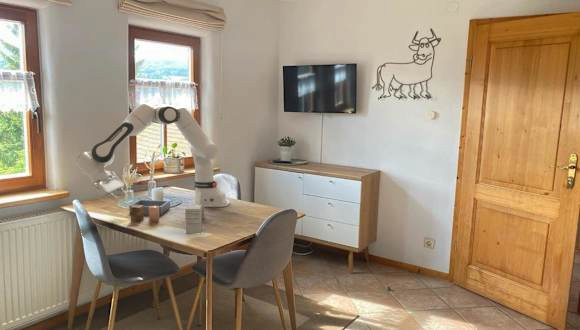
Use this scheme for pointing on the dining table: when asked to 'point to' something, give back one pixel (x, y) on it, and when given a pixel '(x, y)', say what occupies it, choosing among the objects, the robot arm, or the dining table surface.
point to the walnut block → (137, 213)
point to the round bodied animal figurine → (202, 211)
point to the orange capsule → (153, 214)
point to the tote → (163, 205)
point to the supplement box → (193, 218)
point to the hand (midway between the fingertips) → (121, 197)
